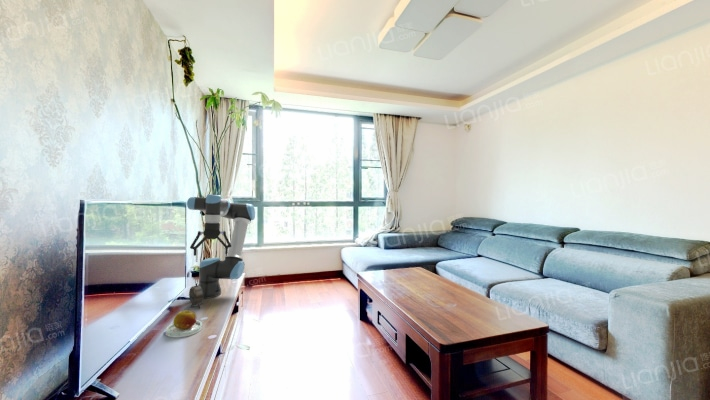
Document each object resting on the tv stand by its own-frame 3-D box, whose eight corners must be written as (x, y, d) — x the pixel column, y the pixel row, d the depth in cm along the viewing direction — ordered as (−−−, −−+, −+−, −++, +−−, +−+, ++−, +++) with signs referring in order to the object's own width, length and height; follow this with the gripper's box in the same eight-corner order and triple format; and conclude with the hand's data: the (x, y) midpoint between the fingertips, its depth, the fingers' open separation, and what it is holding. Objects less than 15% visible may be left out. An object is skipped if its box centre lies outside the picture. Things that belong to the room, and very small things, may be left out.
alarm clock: (203, 308, 161) (204, 280, 161) (193, 310, 157) (194, 281, 157) (196, 302, 168) (198, 275, 168) (186, 305, 164) (188, 277, 164)
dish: (166, 326, 137) (166, 322, 137) (201, 321, 145) (201, 317, 145) (164, 340, 124) (164, 336, 124) (202, 333, 132) (203, 329, 132)
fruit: (200, 325, 138) (201, 308, 138) (187, 333, 129) (188, 316, 129) (182, 323, 139) (182, 307, 139) (168, 331, 130) (169, 314, 130)
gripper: (186, 222, 146) (184, 263, 146) (237, 223, 159) (235, 260, 159) (186, 221, 152) (184, 260, 152) (235, 221, 165) (233, 257, 165)
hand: (210, 260), depth 155 cm, fingers open, 13 cm apart
